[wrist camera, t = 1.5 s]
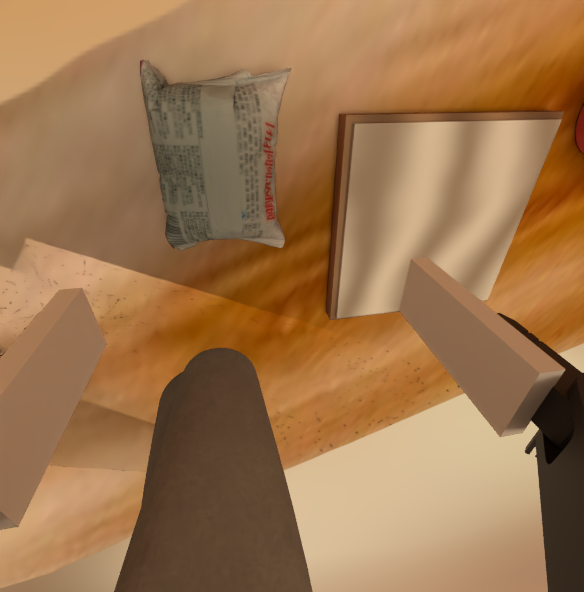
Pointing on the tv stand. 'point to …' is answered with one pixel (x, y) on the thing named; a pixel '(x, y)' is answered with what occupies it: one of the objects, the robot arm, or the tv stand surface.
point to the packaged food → (216, 155)
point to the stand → (428, 199)
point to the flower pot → (580, 131)
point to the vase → (215, 490)
